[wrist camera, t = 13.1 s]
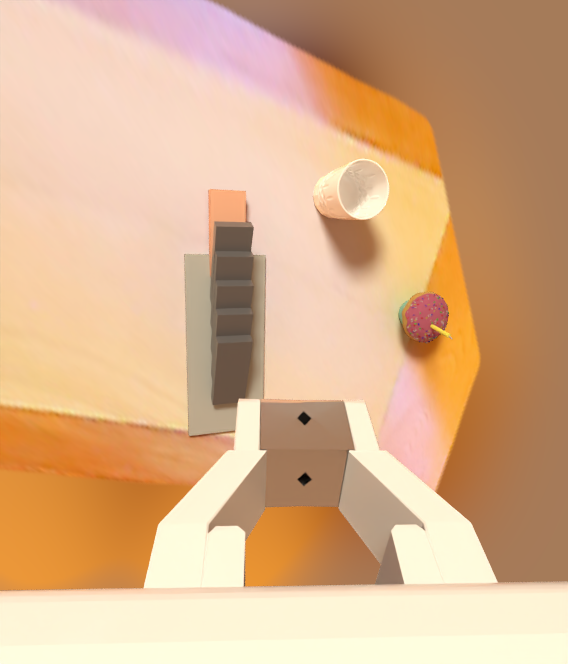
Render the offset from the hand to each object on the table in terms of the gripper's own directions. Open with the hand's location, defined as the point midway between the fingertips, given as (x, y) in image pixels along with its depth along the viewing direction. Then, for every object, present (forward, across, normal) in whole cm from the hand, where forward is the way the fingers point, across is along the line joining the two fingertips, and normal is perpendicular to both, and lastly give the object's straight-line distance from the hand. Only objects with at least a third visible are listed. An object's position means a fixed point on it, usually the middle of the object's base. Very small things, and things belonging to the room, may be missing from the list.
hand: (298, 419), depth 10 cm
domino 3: (+48, -6, -27) cm, 55 cm away
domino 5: (+45, -6, -34) cm, 57 cm away
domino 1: (+51, -6, -20) cm, 55 cm away
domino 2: (+49, -6, -23) cm, 55 cm away
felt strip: (+48, -6, -30) cm, 57 cm away
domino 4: (+47, -6, -30) cm, 56 cm away
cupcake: (+58, +26, -29) cm, 70 cm away
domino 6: (+44, -6, -38) cm, 58 cm away
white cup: (+61, +10, -10) cm, 62 cm away
